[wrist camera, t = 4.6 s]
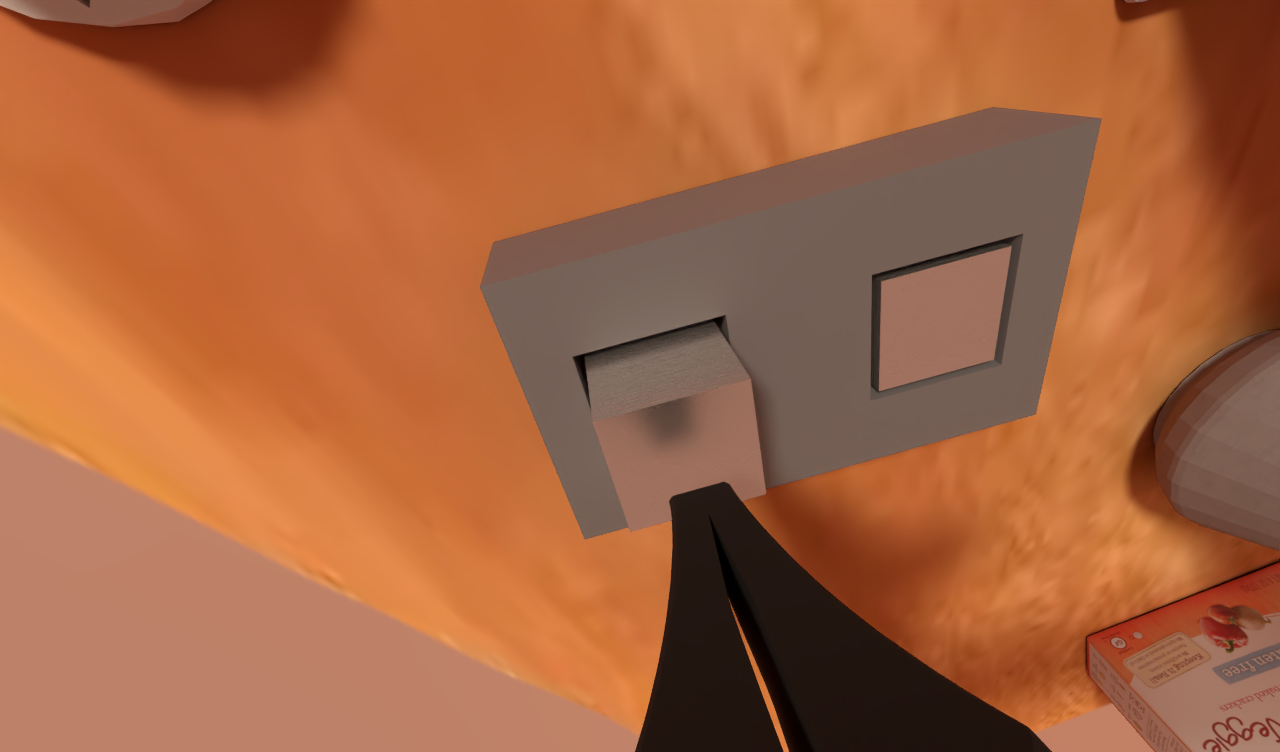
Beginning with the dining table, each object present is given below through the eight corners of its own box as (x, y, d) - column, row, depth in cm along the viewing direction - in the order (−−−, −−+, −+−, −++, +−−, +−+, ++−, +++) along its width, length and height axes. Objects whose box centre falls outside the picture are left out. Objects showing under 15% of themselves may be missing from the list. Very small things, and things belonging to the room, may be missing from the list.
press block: (993, 107, 17) (1101, 118, 14) (962, 361, 23) (1035, 414, 19) (493, 242, 17) (479, 286, 14) (579, 467, 22) (585, 539, 19)
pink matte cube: (933, 214, 19) (1011, 245, 16) (926, 314, 21) (993, 359, 18) (825, 244, 19) (881, 281, 16) (828, 341, 21) (879, 391, 18)
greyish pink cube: (710, 316, 16) (750, 378, 13) (728, 419, 18) (766, 494, 15) (583, 351, 16) (592, 422, 13) (616, 450, 18) (630, 532, 15)
